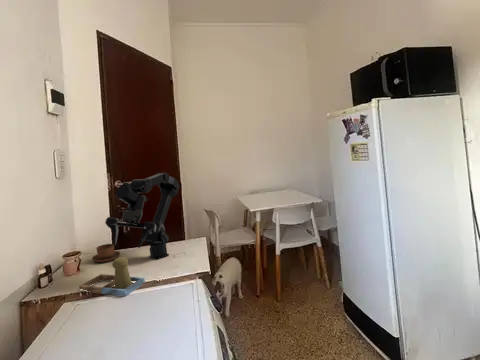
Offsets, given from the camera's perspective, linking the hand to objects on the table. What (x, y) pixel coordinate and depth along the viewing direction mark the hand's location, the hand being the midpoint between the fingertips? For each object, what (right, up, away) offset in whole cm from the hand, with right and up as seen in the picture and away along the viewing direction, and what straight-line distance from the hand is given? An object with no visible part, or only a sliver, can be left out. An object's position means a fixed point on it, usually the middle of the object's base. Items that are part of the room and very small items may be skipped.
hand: (126, 246), depth 130 cm
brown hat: (-17, -11, +25) cm, 33 cm away
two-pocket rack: (-3, -13, -8) cm, 16 cm away
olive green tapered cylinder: (+2, -13, -9) cm, 16 cm away
